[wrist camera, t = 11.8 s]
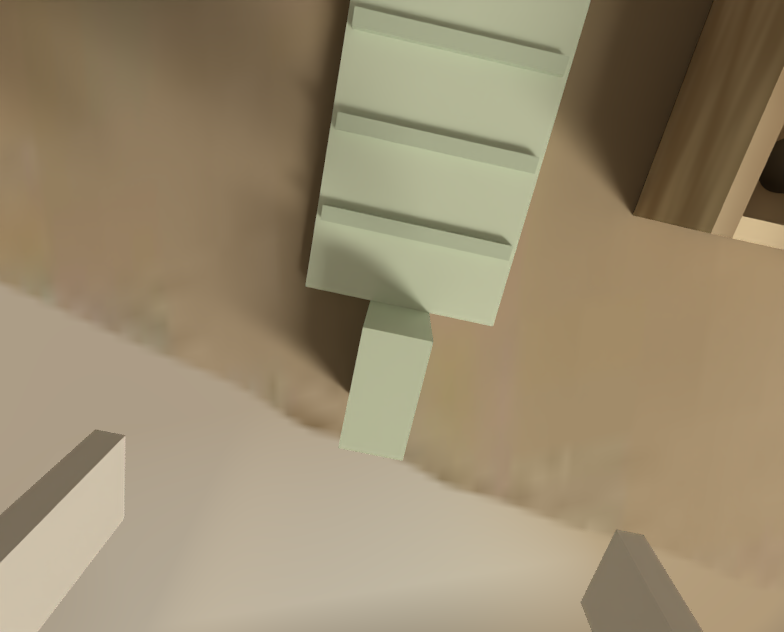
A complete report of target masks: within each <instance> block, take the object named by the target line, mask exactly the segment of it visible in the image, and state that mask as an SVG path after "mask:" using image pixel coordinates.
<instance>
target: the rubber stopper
mask: <svg viewBox="0 0 784 632" xmlns="http://www.w3.org/2000/svg"><path fill="white" fill-rule="evenodd" d="M759 181H760V183H761V185H762V186H763V187H764V188H765V189H766V190H768V191H770V192H773V193H783V194H784V138H783V139H781V140H779V141H777V142H775V145H774V147H773V149H772V151H771V153H770V156H769V158H768V160H767V162H766V165H765V167H764V169H763V171H762V173H761V176H760V178H759Z"/></svg>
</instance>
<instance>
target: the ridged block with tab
mask: <svg viewBox="0 0 784 632" xmlns="http://www.w3.org/2000/svg"><path fill="white" fill-rule="evenodd" d="M590 1H591V0H350V5H349V11H348V18H347V24H346V31H345V37H344V43H343V50H342V56H341V62H340V69H339V75H338V81H337V88H336V94H335V101H334V107H333V113H332V120H331V126H330V132H329V139H328V145H327V151H326V158H325V164H324V171H323V177H322V183H321V190H320V196H319V202H318V209H317V215H316V221H315V228H314V234H313V241H312V247H311V253H310V260H309V266H308V272H307V279H306V285H305V286H306V287H310V288H315V289H320V290H324V291H329V292H334V293H338V294H343V295H348V296H352V297H357V298H362V299H367V300H370V304H369V307H368V311H367V314H366V318H365V322H364V325H363V330H362V334H361V339H360V344H359V349H358V354H357V359H356V364H355V369H354V374H353V378H352V383H351V388H350V393H349V398H348V403H347V408H346V413H345V418H344V422H343V427H342V432H341V437H340V442H339V447H338V448H341V449H346V450H351V451H356V452H361V453H366V454H371V455H376V456H381V457H386V458H391V459H396V460H401V461H403V457H404V453H405V449H406V445H407V441H408V438H409V434H410V430H411V426H412V422H413V418H414V414H415V411H416V407H417V403H418V399H419V395H420V391H421V387H422V383H423V380H424V376H425V372H426V368H427V364H428V360H429V356H430V353H431V349H432V345H433V337H432V330H431V323H430V316H429V313H432V314H437V315H442V316H446V317H451V318H456V319H460V320H465V321H470V322H475V323H479V324H484V325H489V326H493V325H494V321H495V318H496V315H497V311H498V308H499V305H500V301H501V298H502V295H503V291H504V288H505V285H506V281H507V278H508V275H509V271H510V268H511V265H512V261H513V258H514V255H515V251H516V248H517V245H518V241H519V238H520V235H521V231H522V228H523V225H524V221H525V218H526V215H527V211H528V208H529V205H530V201H531V198H532V195H533V191H534V188H535V185H536V181H537V178H538V175H539V171H540V168H541V165H542V161H543V158H544V155H545V151H546V148H547V145H548V141H549V138H550V135H551V131H552V128H553V125H554V121H555V118H556V115H557V111H558V108H559V105H560V101H561V98H562V95H563V91H564V88H565V85H566V81H567V78H568V75H569V71H570V68H571V65H572V61H573V58H574V55H575V51H576V48H577V45H578V41H579V38H580V35H581V31H582V28H583V25H584V21H585V18H586V15H587V11H588V8H589V5H590Z"/></svg>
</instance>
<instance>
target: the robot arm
mask: <svg viewBox="0 0 784 632" xmlns="http://www.w3.org/2000/svg"><path fill="white" fill-rule="evenodd" d="M124 494H125V435H120V434H115V433H110V432H105V431H99V430H94V431H93V432H92V433H91V434H90V435H89V436H88V437H86V438H85V439H84V440H83V441H82V442H81V443H80V444H79V445H78V446H76V447H75V448H74V449H73V450H72V451H71V452H70V453H69V454H68V455H66V456H65V457H64V458H63V459H62V460H61V461H60V462H59V463H58V464H56V465H55V466H54V467H53V468H52V469H51V470H50V471H49V472H48V473H46V474H45V475H44V476H43V477H42V478H41V479H40V480H39V481H38V482H36V484H34V485H33V486H32V487H31V488H30V489H29V490H28V491H27V492H25V493H24V494H23V495H22V496H21V497H20V498H19V499H18V500H16V501H15V502H14V503H13V504H12V505H11V506H10V507H9V508H8V509H7V510H5V511H4V512H3V513H2V514H1V515H0V632H38V631H39V629H40V628H41V627H42V625H43V624H44V623H45V621H46V620H47V619H48V617H49V616H50V615H51V614H52V612H53V611H54V610H55V608H56V607H57V605H58V604H59V603H60V602H61V600H62V599H63V598H64V596H65V595H66V594H67V593H68V591H69V590H70V589H71V587H72V586H73V585H74V583H75V582H76V581H77V580H78V578H79V577H80V575H81V574H82V573H83V572H84V570H85V569H86V568H87V566H88V565H89V564H90V563H91V561H92V560H93V558H94V557H95V556H96V555H97V553H98V552H99V551H100V549H101V548H102V547H103V545H104V544H105V543H106V541H107V540H108V539H109V537H110V536H111V535H112V533H113V532H114V531H115V530H116V528H117V527H118V526H119V524H120V523H121V522H122V520H123V519H124V502H125V500H124V499H125V495H124ZM581 604H582V607H583V609H584V612H585V615H586V617H587V620H588V623H589V625H590V628H591V630H592V632H703V631H702V629H701V627H700V626H699V624H698V623H697V621H696V619H695V618H694V616H693V614H692V613H691V611H690V610H689V608H688V606H687V605H686V603H685V602H684V600H683V598H682V597H681V595H680V593H679V592H678V590H677V589H676V587H675V585H674V584H673V582H672V580H671V579H670V577H669V576H668V574H667V572H666V571H665V569H664V567H663V566H662V564H661V563H660V561H659V559H658V558H657V556H656V555H655V553H654V551H653V550H652V548H651V546H650V545H649V543H648V541H647V540H646V538H645V537H644V535H641V534H636V533H631V532H626V531H621V530H616V531H615V533H614V535H613V537H612V539H611V541H610V543H609V546H608V548H607V550H606V552H605V554H604V556H603V558H602V560H601V562H600V564H599V566H598V568H597V570H596V572H595V574H594V576H593V578H592V580H591V582H590V584H589V586H588V588H587V590H586V593H585V595H584V596H583V599H582V601H581Z"/></svg>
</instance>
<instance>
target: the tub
mask: <svg viewBox="0 0 784 632" xmlns="http://www.w3.org/2000/svg"><path fill="white" fill-rule="evenodd" d="M783 138H784V0H714V1H713V4H712V6H711V9H710V12H709V14H708V17H707V20H706V22H705V25H704V27H703V30H702V33H701V35H700V38H699V41H698V43H697V46H696V49H695V51H694V54H693V57H692V59H691V62H690V65H689V67H688V70H687V73H686V75H685V78H684V81H683V83H682V86H681V89H680V91H679V94H678V97H677V99H676V102H675V105H674V107H673V110H672V113H671V115H670V118H669V121H668V123H667V126H666V129H665V131H664V134H663V136H662V139H661V142H660V144H659V147H658V150H657V152H656V155H655V158H654V160H653V163H652V166H651V168H650V171H649V174H648V176H647V179H646V182H645V184H644V187H643V190H642V192H641V195H640V198H639V200H638V203H637V206H636V208H635V211H634V214H633V215H634V216H639V217H643V218H647V219H651V220H656V221H660V222H664V223H668V224H673V225H677V226H681V227H685V228H690V229H694V230H698V231H702V232H707V233H711V234H715V235H720V236H724V237H729V238H733V239H738V240H742V241H746V242H751V243H755V244H760V245H764V246H769V247H773V248H778V249H782V250H784V194H783V193H773V192H770V191H768V190H766V189H765V188H764V187H763V186H762V185H761V183H760V181H759V178H760V176H761V173H762V171H763V169H764V167H765V165H766V162H767V160H768V158H769V156H770V153H771V151H772V149H773V147H774V145H775V142H777V141H779V140H781V139H783Z"/></svg>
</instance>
